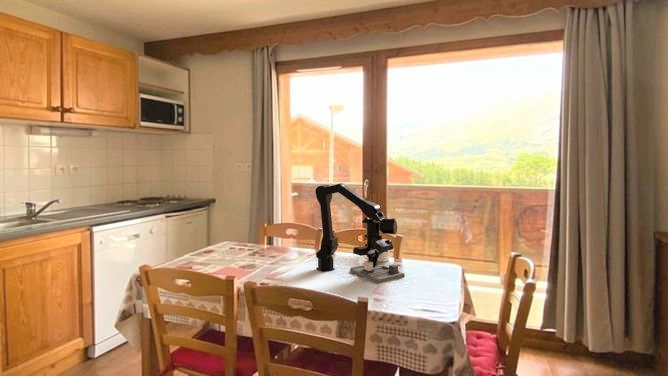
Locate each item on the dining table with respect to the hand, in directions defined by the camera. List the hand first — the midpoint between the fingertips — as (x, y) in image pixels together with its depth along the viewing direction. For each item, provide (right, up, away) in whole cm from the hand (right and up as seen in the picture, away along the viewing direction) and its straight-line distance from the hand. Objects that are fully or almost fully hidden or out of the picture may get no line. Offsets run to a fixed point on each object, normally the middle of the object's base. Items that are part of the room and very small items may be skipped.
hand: (373, 267), depth 179 cm
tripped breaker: (-2, -2, -2) cm, 3 cm away
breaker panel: (+1, -3, +1) cm, 4 cm away
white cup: (+7, -2, +26) cm, 27 cm away
